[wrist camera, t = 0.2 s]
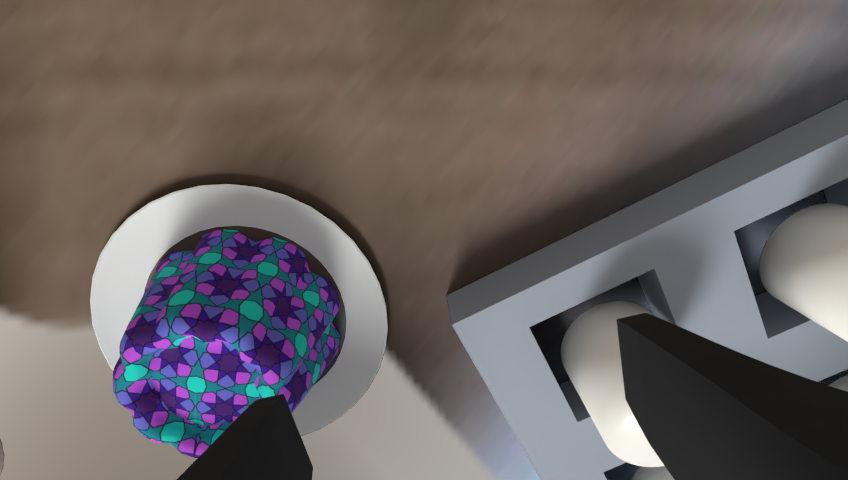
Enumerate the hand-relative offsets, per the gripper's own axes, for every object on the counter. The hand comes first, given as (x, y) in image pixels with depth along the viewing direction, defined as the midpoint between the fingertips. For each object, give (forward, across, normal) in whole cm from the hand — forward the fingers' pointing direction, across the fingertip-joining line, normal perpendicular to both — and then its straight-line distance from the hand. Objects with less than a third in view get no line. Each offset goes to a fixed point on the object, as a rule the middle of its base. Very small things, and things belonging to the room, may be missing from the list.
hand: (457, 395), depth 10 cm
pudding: (+10, +8, +2) cm, 13 cm away
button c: (+7, -6, +5) cm, 11 cm away
